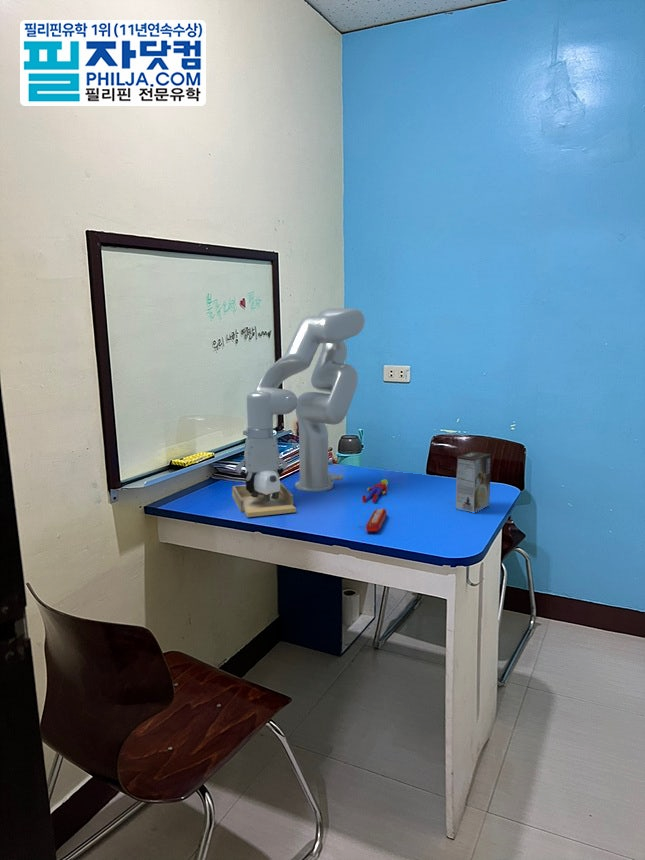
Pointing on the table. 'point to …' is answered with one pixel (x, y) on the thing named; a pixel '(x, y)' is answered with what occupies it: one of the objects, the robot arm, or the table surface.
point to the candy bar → (376, 520)
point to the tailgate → (270, 510)
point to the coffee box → (473, 481)
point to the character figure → (376, 491)
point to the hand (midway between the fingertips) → (262, 490)
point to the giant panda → (265, 484)
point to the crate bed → (259, 498)
